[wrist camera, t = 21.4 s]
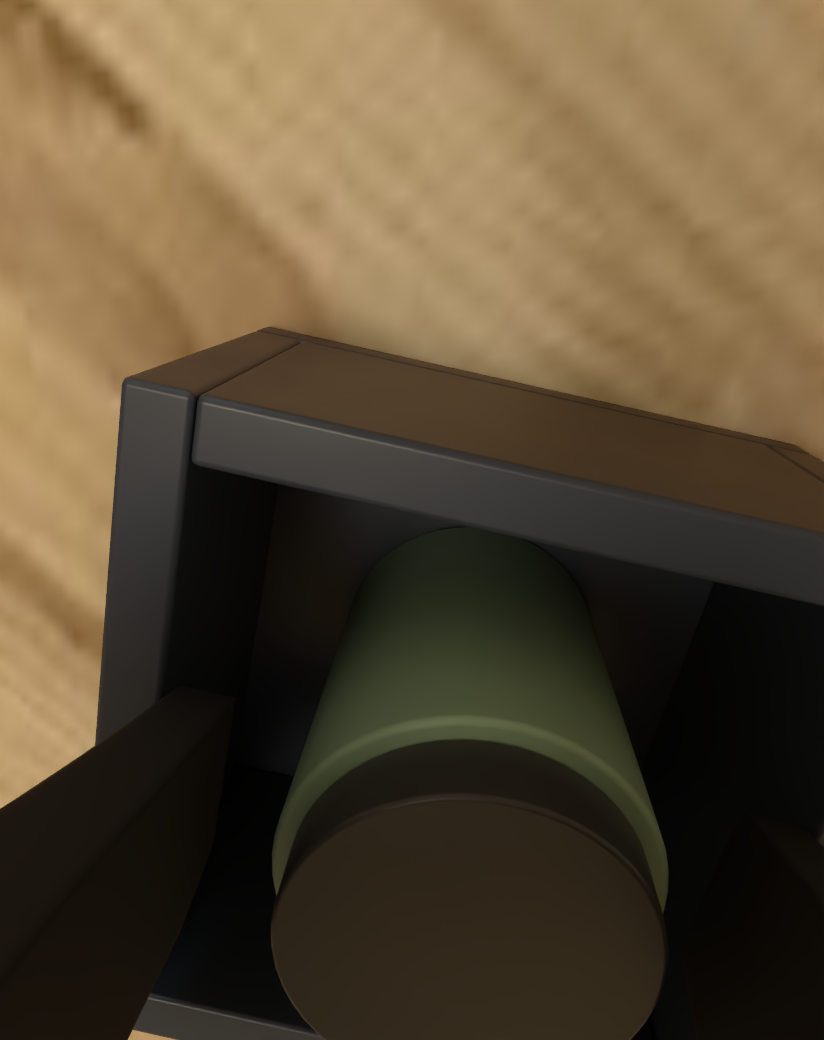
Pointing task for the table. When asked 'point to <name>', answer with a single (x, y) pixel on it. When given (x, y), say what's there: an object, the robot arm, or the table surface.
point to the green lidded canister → (469, 815)
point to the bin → (420, 510)
